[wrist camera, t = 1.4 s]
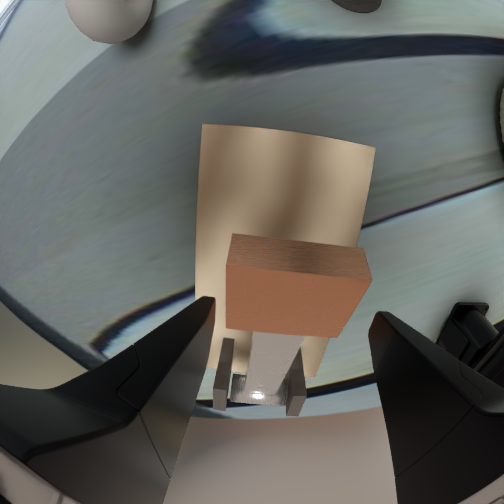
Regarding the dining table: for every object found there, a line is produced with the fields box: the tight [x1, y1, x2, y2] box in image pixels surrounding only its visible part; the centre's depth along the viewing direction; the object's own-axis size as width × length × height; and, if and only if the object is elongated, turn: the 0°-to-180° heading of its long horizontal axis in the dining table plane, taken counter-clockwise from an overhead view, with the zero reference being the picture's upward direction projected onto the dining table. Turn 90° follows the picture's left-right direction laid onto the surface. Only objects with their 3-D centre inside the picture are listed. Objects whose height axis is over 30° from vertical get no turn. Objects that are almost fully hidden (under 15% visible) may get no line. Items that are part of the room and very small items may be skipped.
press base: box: [195, 124, 375, 416], centre depth 19 cm, size 12×22×8 cm, turn 174°
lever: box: [226, 233, 372, 406], centre depth 15 cm, size 5×17×2 cm, turn 174°
